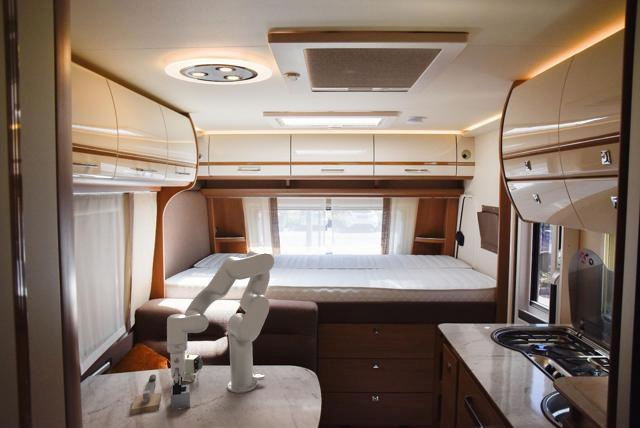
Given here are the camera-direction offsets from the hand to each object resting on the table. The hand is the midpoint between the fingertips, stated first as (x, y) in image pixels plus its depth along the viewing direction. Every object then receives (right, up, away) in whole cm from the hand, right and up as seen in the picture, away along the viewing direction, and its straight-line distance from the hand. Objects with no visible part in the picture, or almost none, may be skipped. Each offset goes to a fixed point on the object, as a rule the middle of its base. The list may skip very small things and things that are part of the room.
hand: (177, 388), depth 162 cm
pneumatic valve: (-2, -6, +22) cm, 23 cm away
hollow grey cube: (+1, -7, +1) cm, 7 cm away
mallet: (-15, -7, +9) cm, 19 cm away
